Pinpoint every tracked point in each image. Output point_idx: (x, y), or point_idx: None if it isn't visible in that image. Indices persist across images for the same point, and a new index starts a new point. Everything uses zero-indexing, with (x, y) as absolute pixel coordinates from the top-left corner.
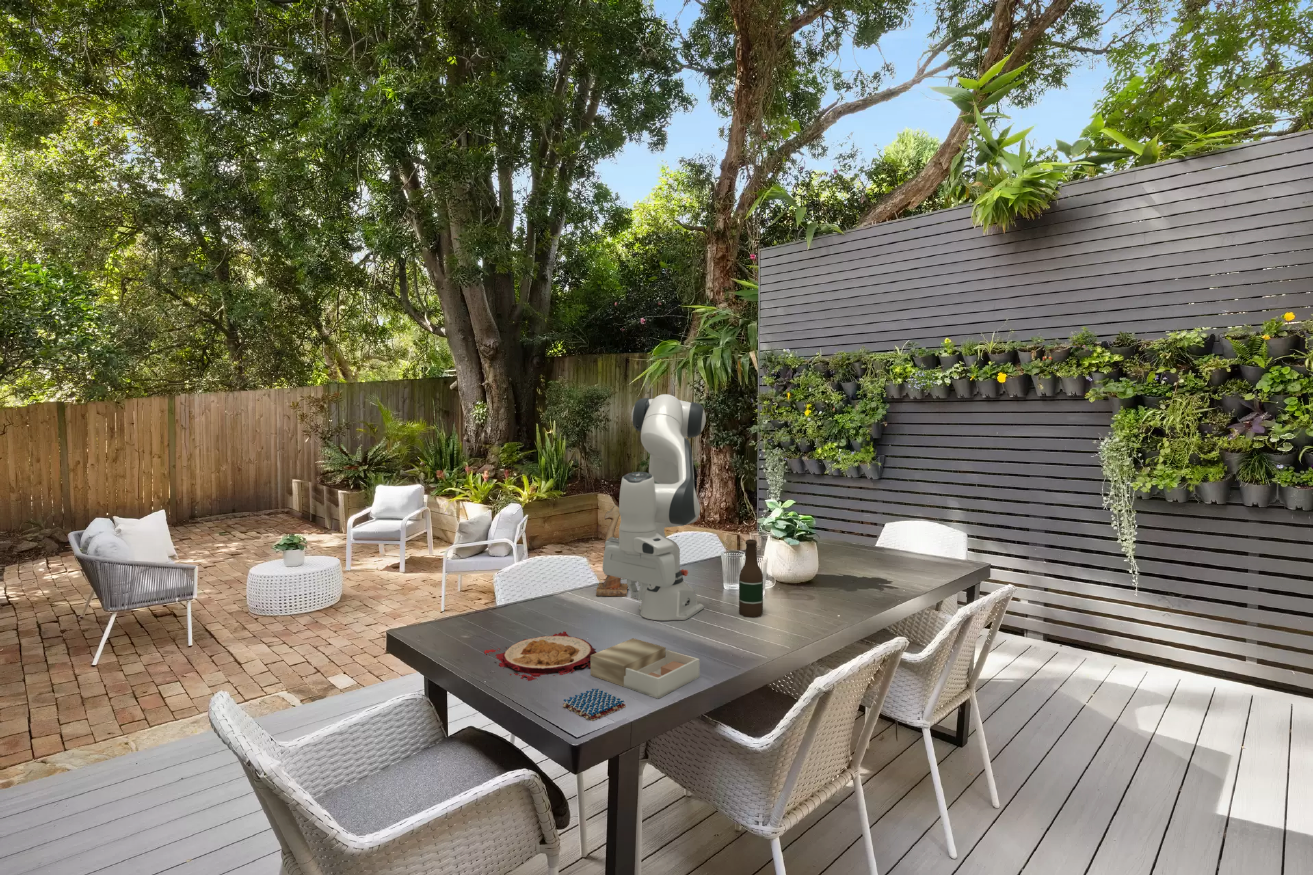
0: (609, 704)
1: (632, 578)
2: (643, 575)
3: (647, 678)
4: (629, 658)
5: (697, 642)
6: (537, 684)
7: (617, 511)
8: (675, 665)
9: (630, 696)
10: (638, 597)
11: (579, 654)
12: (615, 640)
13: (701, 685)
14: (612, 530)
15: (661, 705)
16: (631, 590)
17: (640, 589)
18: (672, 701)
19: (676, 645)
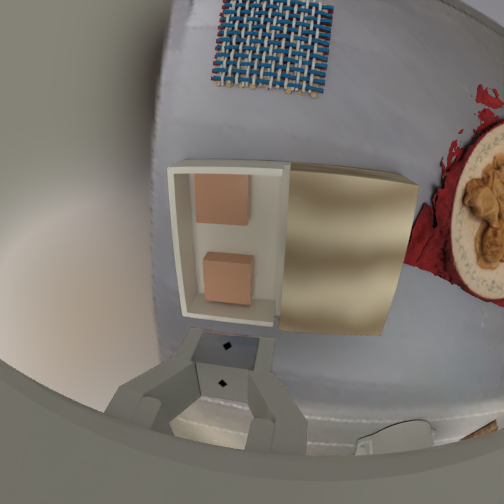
0: (228, 46)
1: (183, 457)
2: (32, 443)
3: (204, 165)
4: (312, 225)
5: (297, 401)
6: (455, 74)
7: None
8: (229, 287)
9: (242, 129)
10: (197, 337)
11: (469, 246)
12: (436, 345)
13: (166, 263)
14: None
15: (161, 139)
16: (258, 377)
17: (153, 377)
18: (157, 168)
19: (322, 381)
